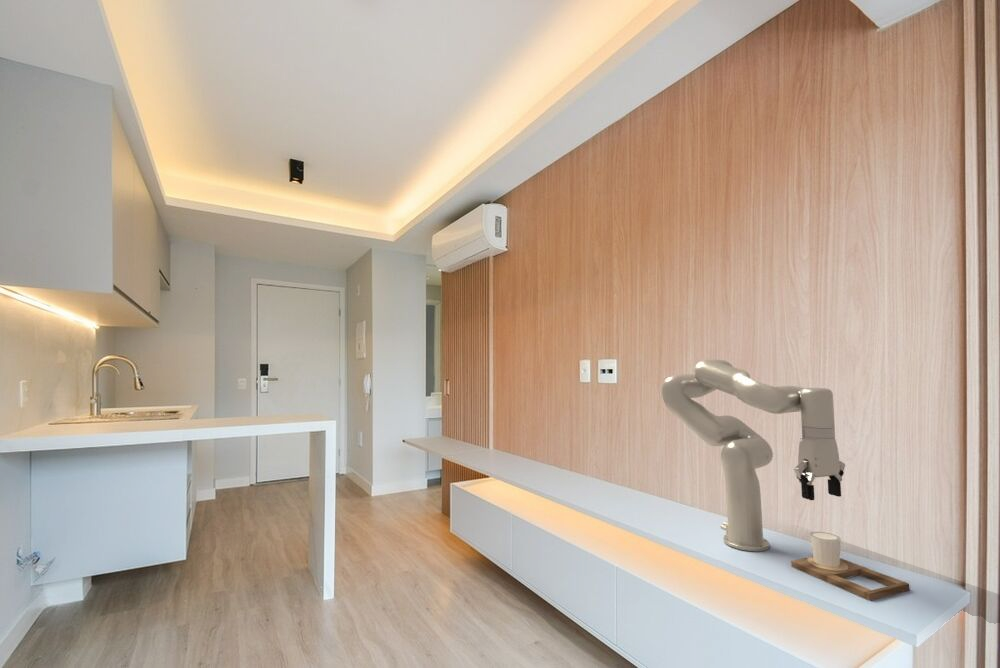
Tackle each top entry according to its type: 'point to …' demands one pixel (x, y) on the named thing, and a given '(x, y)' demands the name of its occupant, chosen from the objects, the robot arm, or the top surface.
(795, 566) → the pocket board
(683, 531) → the top surface
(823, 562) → the cream short cylinder
